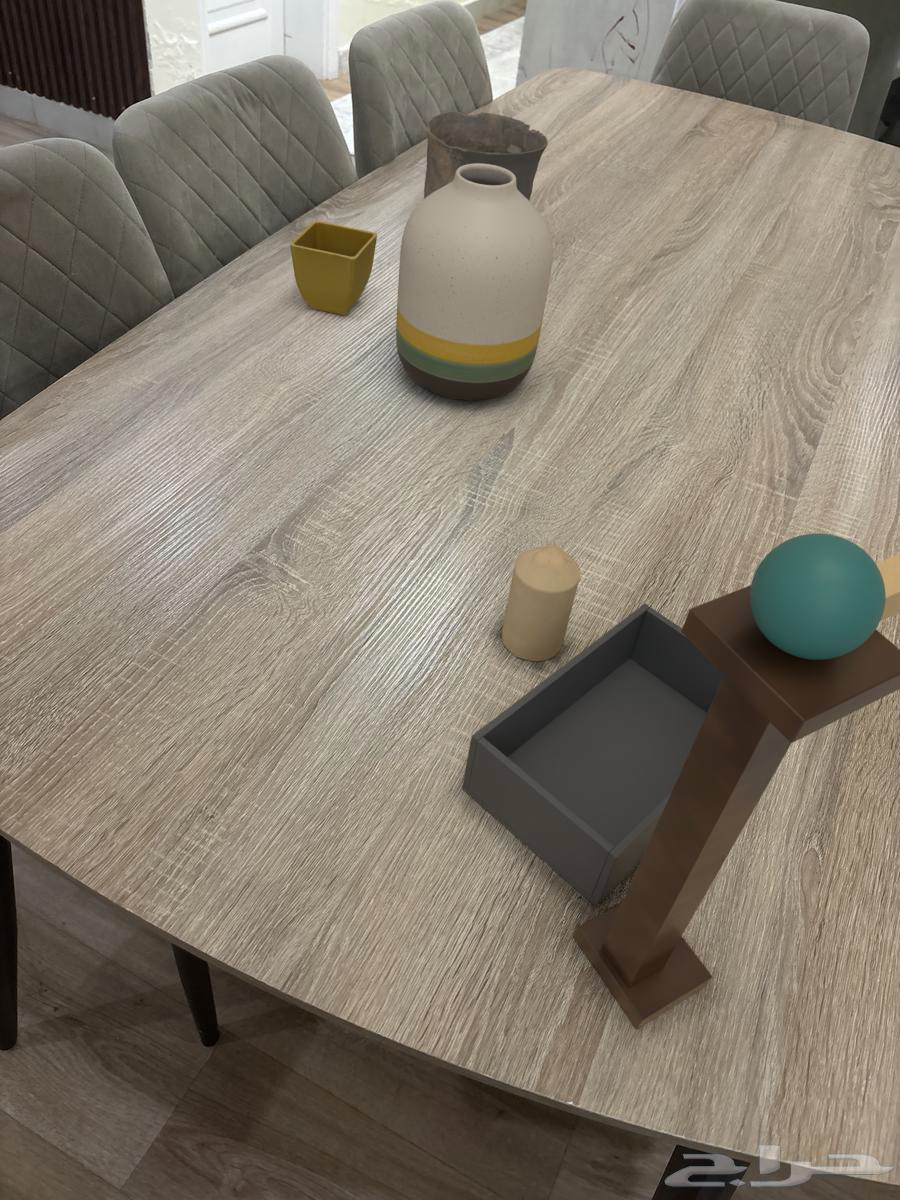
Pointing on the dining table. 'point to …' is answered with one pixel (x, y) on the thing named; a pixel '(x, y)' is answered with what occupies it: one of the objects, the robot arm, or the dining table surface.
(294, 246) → the flower pot
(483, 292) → the vase
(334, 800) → the dining table surface
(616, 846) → the bin
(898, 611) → the rattle
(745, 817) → the stand
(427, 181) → the dark brown chipped pot
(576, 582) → the candle
